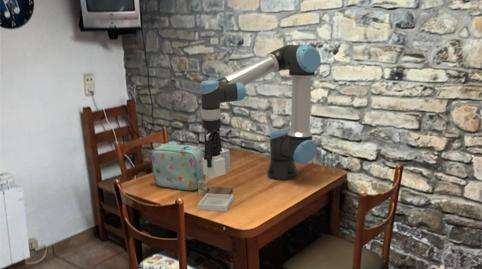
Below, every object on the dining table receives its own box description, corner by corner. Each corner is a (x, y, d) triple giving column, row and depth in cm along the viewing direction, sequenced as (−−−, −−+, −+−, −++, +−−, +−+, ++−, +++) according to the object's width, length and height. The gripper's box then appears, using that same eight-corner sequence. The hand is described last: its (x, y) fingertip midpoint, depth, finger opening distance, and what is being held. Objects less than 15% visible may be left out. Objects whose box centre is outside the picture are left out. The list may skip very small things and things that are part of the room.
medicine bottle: (226, 174, 189) (224, 147, 187) (211, 178, 185) (210, 150, 183) (217, 170, 195) (215, 143, 192) (202, 174, 191) (201, 146, 188)
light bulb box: (208, 168, 244) (207, 148, 241) (218, 165, 248) (217, 146, 246) (221, 172, 236) (220, 152, 234) (231, 169, 241) (230, 149, 238)
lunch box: (210, 186, 217) (208, 143, 212) (200, 193, 208) (197, 148, 202) (163, 180, 228) (160, 139, 222) (152, 187, 218) (148, 144, 213)
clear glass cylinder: (209, 192, 209) (208, 180, 207) (206, 195, 205) (206, 182, 203) (201, 191, 210) (200, 179, 208) (198, 195, 206) (197, 182, 204)
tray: (234, 200, 198) (233, 194, 198) (226, 211, 186) (226, 205, 186) (206, 198, 201) (206, 193, 200) (197, 209, 189) (197, 204, 189)
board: (232, 192, 208) (232, 187, 208) (228, 199, 201) (228, 193, 200) (212, 191, 210) (211, 186, 210) (207, 198, 203) (207, 193, 202)
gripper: (210, 113, 196) (213, 162, 201) (193, 124, 175) (197, 178, 180) (227, 113, 194) (229, 162, 200) (212, 124, 173) (215, 179, 178)
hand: (214, 170), depth 190 cm, fingers closed on medicine bottle, 10 cm apart
